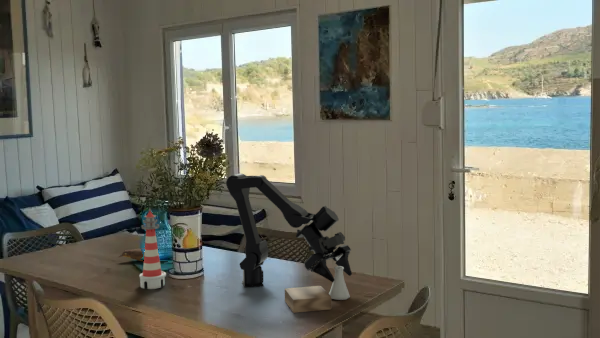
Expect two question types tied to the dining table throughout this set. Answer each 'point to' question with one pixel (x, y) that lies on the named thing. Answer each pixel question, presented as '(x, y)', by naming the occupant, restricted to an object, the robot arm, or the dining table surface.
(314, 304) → the light brown square board
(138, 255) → the bird sculpture
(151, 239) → the miniature lighthouse
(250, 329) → the dining table surface
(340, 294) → the flask
